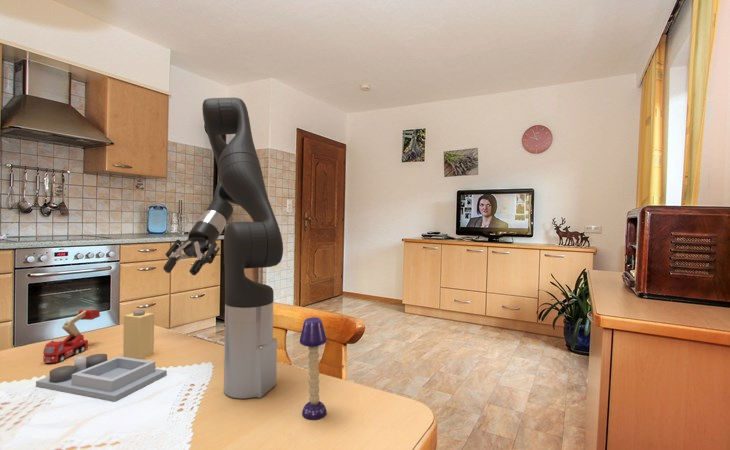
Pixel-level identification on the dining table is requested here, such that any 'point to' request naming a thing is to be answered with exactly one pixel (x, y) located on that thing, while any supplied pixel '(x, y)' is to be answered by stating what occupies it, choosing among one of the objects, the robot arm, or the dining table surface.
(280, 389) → the dining table surface
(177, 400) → the dining table surface
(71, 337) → the toy fire truck
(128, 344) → the tan knobbed block
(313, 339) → the toy lamp
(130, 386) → the grey insertion tray
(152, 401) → the dining table surface
